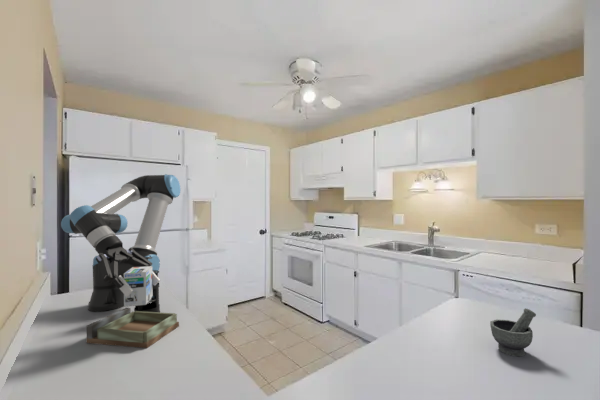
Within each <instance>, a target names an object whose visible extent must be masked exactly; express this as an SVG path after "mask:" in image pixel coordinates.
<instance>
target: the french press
mask: <svg viewBox="0 0 600 400" xmlns="http://www.w3.org/2000/svg"><path fill="white" fill-rule="evenodd" d="M144 258H146V259H147V260H148V259H151V258H152V257H144ZM153 272H154V273H155V275H156V276H157V277H158V278H159V274H160V270H153ZM159 290H160V282H158V283H157V284H156V285H155V286H154V285H153V296H152V297H151V299H150V300H149V302H148V303H147V304H146V305H138V306H134V309H133V312H136V311H143V312H160V313H161V309H160V307H161V305H160V294H159V293H160V291H159Z"/></svg>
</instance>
